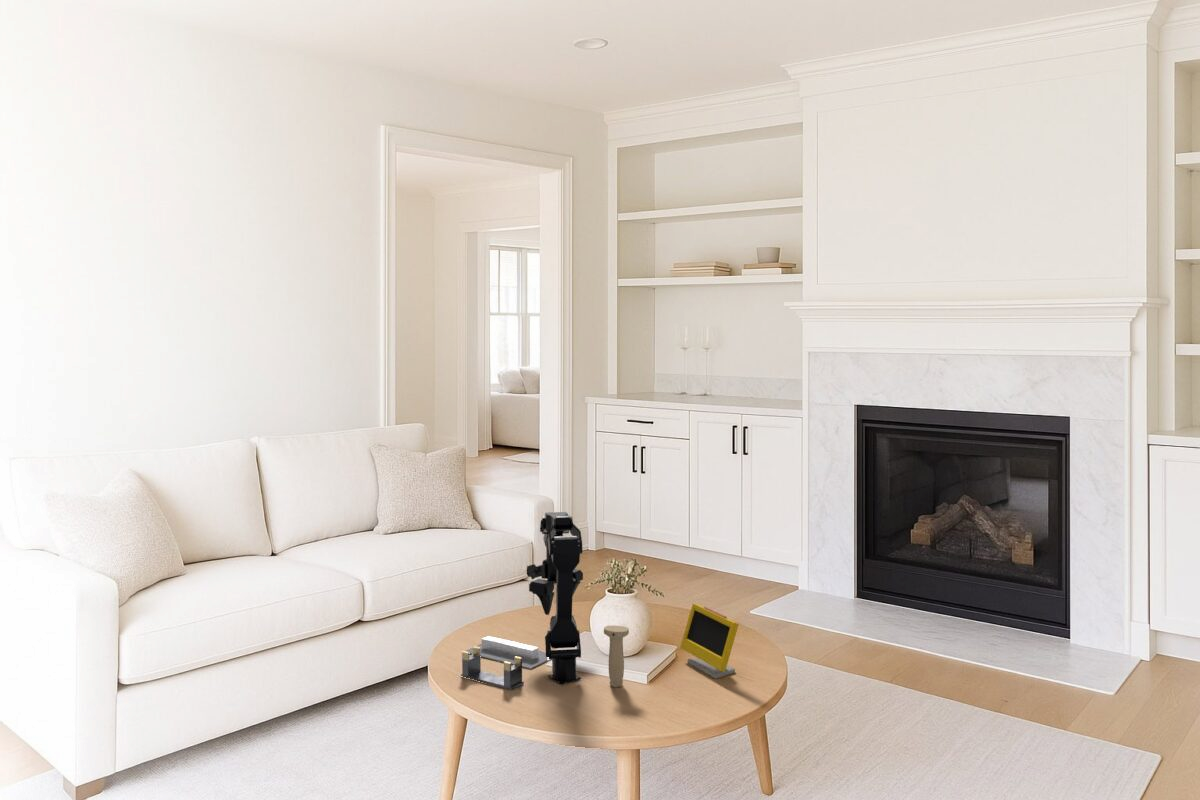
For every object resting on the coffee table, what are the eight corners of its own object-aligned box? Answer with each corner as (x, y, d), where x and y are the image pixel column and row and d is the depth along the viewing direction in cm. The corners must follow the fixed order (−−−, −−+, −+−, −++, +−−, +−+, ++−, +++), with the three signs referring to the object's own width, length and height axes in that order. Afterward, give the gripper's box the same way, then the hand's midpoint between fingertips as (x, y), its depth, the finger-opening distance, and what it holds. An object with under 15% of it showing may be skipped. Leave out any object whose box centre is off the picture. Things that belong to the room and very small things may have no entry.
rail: (538, 657, 263) (538, 647, 263) (532, 661, 261) (531, 650, 260) (488, 645, 273) (488, 635, 273) (481, 648, 270) (481, 638, 270)
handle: (607, 680, 247) (607, 624, 246) (631, 683, 245) (631, 627, 244) (601, 687, 243) (601, 630, 242) (625, 690, 241) (625, 632, 239)
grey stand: (523, 684, 245) (523, 658, 244) (511, 690, 240) (511, 663, 240) (473, 671, 254) (473, 645, 253) (461, 677, 250) (460, 651, 249)
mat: (557, 656, 265) (557, 655, 265) (530, 669, 255) (530, 668, 255) (490, 641, 278) (490, 639, 278) (463, 652, 268) (463, 651, 268)
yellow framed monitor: (679, 659, 263) (680, 604, 262) (703, 655, 266) (703, 600, 265) (720, 683, 245) (721, 624, 244) (745, 678, 249) (746, 619, 248)
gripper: (552, 546, 279) (552, 598, 280) (513, 559, 263) (513, 614, 265) (584, 551, 273) (584, 604, 274) (545, 564, 257) (545, 621, 259)
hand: (556, 610), depth 268 cm, fingers open, 9 cm apart
